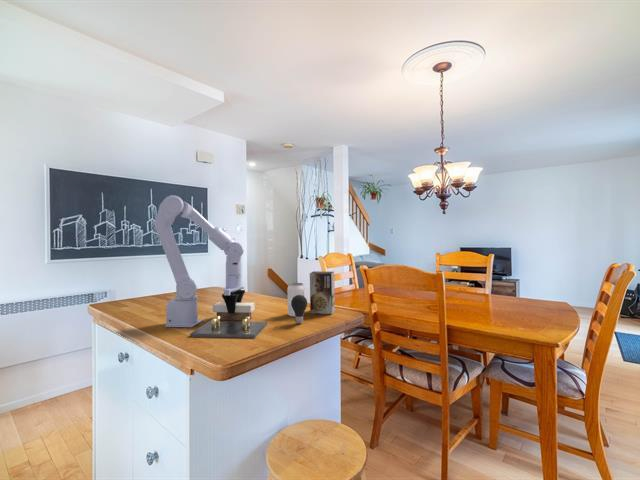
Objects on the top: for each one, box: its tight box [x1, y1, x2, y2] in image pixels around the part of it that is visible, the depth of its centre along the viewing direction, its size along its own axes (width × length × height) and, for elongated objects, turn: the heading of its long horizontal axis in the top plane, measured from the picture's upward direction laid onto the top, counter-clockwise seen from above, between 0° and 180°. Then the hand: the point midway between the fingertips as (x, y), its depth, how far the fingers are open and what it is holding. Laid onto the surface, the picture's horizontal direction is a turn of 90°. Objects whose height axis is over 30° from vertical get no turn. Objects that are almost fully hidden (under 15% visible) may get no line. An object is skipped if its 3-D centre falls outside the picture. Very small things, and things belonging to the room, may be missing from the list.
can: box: [286, 282, 305, 318], centre depth 118 cm, size 6×6×12 cm
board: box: [212, 301, 256, 314], centre depth 112 cm, size 14×5×2 cm, turn 86°
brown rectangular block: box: [216, 312, 252, 321], centre depth 112 cm, size 12×3×3 cm, turn 86°
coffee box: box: [309, 270, 336, 315], centre depth 122 cm, size 9×6×16 cm
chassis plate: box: [189, 315, 268, 339], centre depth 98 cm, size 20×14×4 cm
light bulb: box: [291, 295, 308, 325], centre depth 105 cm, size 6×6×10 cm
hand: (234, 311), depth 112 cm, fingers closed on board, 5 cm apart
